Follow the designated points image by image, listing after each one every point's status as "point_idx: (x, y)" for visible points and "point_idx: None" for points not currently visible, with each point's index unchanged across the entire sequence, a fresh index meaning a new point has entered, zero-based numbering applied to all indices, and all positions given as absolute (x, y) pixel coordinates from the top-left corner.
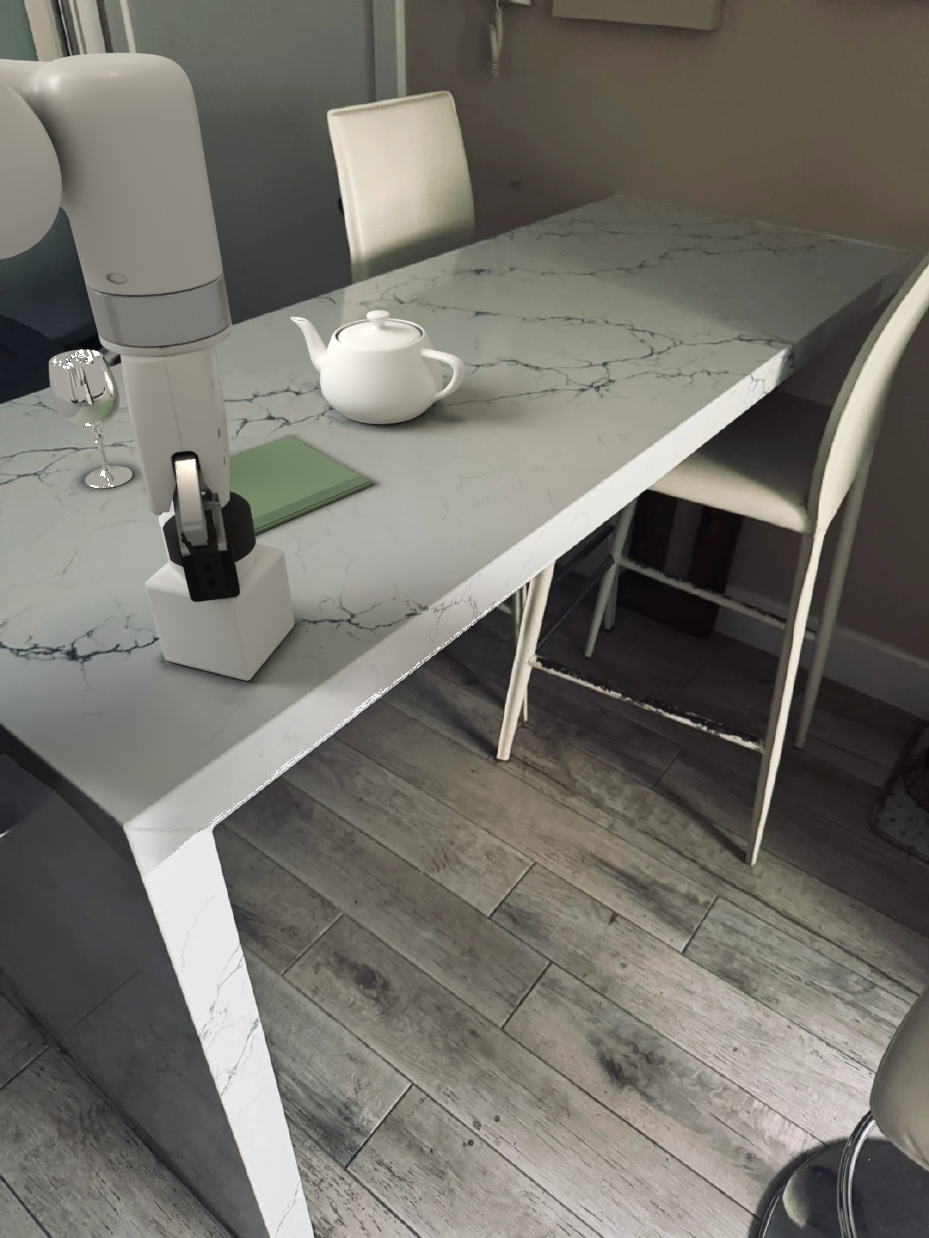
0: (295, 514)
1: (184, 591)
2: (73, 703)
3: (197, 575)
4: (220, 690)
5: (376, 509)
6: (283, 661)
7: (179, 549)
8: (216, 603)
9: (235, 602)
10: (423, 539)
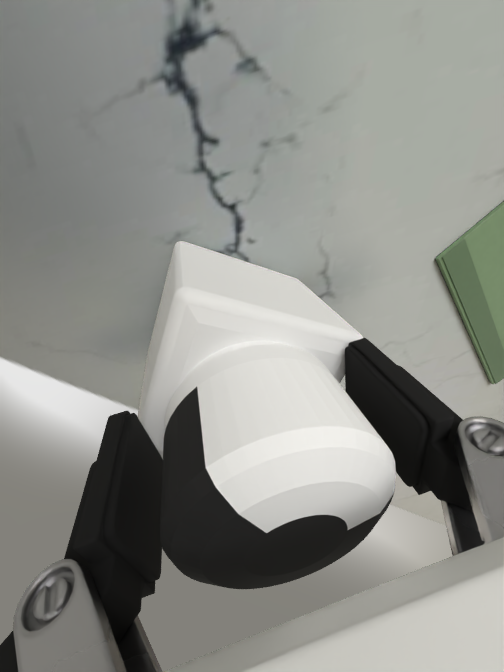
0: (468, 325)
1: (157, 379)
2: (41, 94)
3: (78, 509)
4: (128, 328)
5: (444, 394)
6: None
7: (84, 545)
8: None
9: None
10: None
